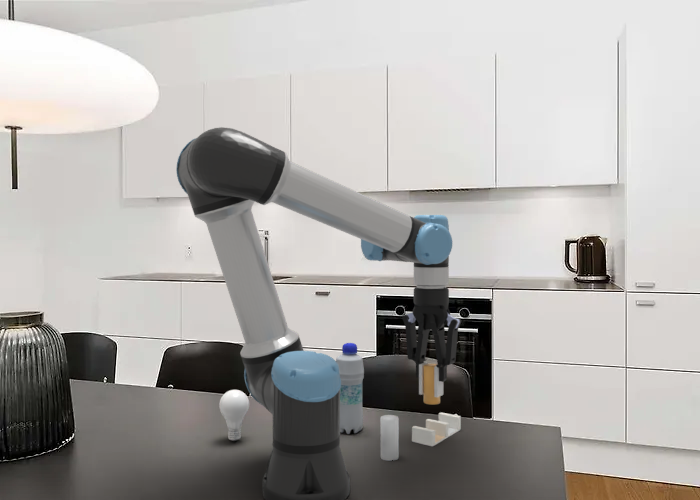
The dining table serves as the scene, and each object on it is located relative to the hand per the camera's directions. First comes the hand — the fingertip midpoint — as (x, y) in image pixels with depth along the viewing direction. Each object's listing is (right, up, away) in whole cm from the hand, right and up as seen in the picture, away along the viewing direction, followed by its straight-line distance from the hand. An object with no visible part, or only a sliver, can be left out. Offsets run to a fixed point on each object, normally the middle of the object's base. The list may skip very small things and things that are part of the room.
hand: (431, 394), depth 131 cm
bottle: (-18, -10, +6) cm, 21 cm away
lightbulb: (-43, -10, -1) cm, 44 cm away
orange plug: (0, -2, 0) cm, 2 cm away
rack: (+2, -10, +3) cm, 10 cm away
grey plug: (-10, -10, -10) cm, 17 cm away
